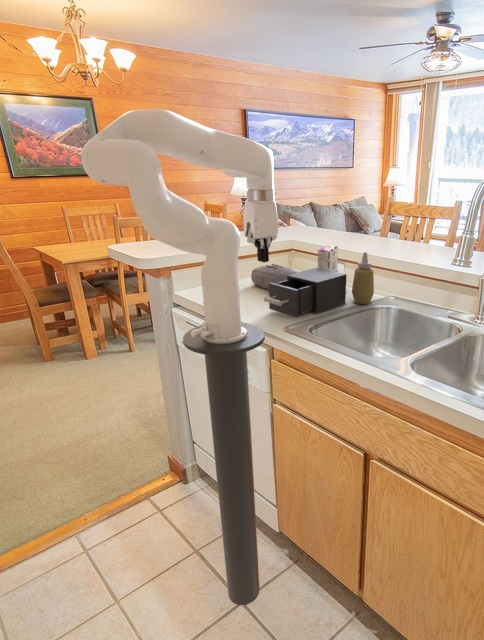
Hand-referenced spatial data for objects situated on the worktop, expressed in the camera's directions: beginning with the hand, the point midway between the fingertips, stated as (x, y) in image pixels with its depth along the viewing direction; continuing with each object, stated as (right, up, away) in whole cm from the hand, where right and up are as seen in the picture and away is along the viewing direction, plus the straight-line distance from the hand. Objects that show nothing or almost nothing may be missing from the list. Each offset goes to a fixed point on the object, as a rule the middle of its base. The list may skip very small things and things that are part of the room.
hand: (263, 261), depth 131 cm
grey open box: (+16, -10, +25) cm, 31 cm away
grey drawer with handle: (+8, -13, +16) cm, 22 cm away
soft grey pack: (0, 0, +46) cm, 46 cm away
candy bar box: (+20, -2, +44) cm, 48 cm away
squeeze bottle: (+32, -8, +29) cm, 44 cm away
